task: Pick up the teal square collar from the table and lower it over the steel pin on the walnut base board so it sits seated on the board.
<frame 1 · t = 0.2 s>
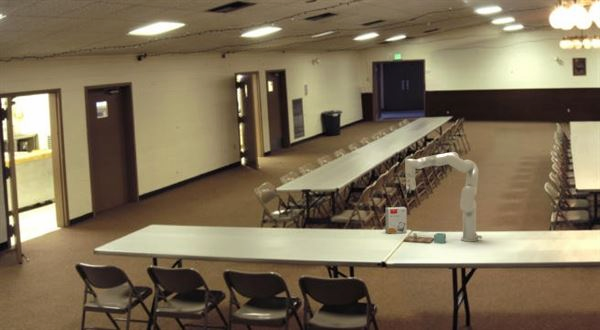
hand: (410, 196, 549), 31 cm above the table, tool pointing down, fingers open, 9 cm apart
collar: (440, 242, 530), on the table
base board: (418, 240, 537), on the table
hard drive box: (396, 232, 568), on the table
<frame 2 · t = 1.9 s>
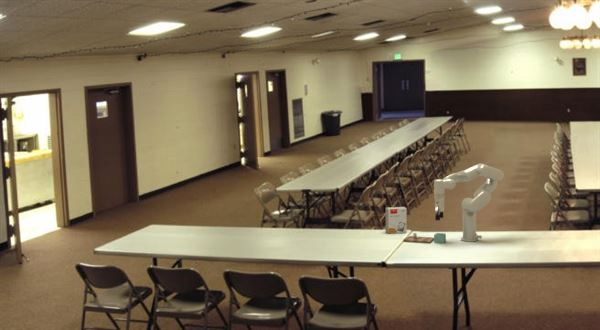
hand: (439, 218, 528), 17 cm above the table, tool pointing down, fingers open, 9 cm apart
nothing on the table moved.
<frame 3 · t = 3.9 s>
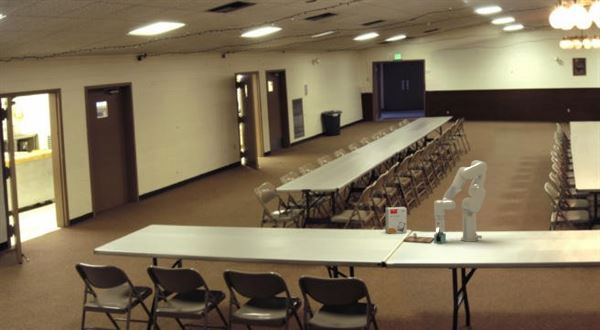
hand: (439, 240, 530), 1 cm above the table, tool pointing down, fingers closed on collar, 7 cm apart
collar: (439, 242, 530), on the table, touching gripper
everything else where it was.
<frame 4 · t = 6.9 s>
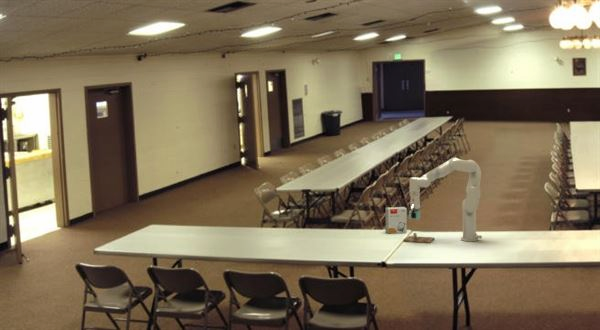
hand: (415, 216, 536), 18 cm above the table, tool pointing down, fingers closed on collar, 7 cm apart
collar: (415, 218, 536), point 17 cm above the table, touching gripper
everything else where it was.
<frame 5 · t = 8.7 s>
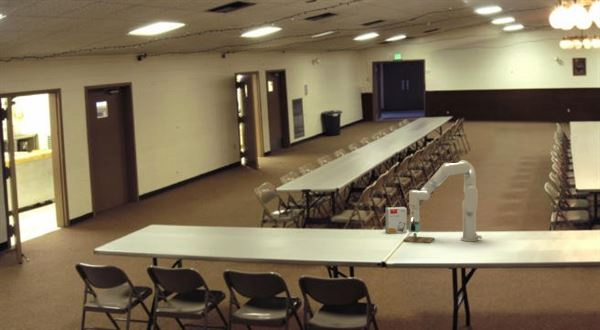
hand: (414, 229, 537), 8 cm above the table, tool pointing down, fingers closed on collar, 7 cm apart
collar: (414, 231, 537), point 7 cm above the table, touching gripper
everything else where it was.
when the fingers open (4 cm above the table, at t = 10.1 s): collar drops 1 cm, resting on base board.
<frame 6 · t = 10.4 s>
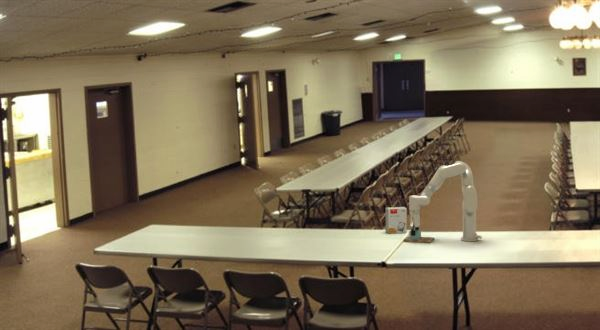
hand: (414, 234, 538), 5 cm above the table, tool pointing down, fingers open, 9 cm apart
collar: (415, 238, 538), point 1 cm above the table, touching base board
everything else where it was.
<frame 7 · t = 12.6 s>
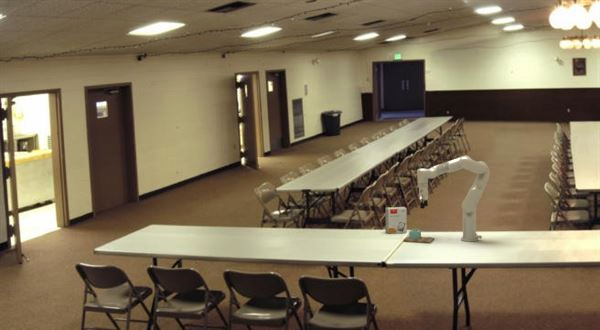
hand: (424, 207, 541), 24 cm above the table, tool pointing down, fingers open, 9 cm apart
nothing on the table moved.
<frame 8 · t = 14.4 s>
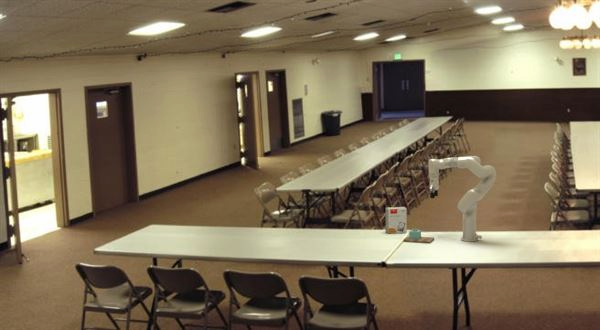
hand: (434, 197, 547), 30 cm above the table, tool pointing down, fingers open, 9 cm apart
nothing on the table moved.
at the end: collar 0.1 cm from the target spot on the base board, point 1.5 cm above the base board's base; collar tilted 0°; the gripper is holding nothing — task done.
